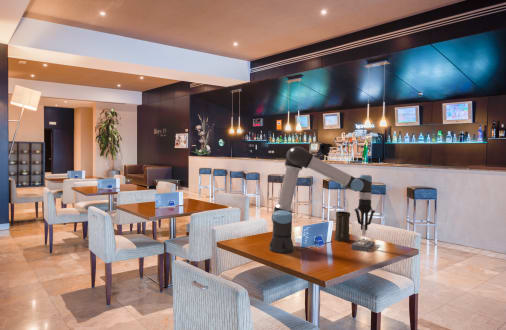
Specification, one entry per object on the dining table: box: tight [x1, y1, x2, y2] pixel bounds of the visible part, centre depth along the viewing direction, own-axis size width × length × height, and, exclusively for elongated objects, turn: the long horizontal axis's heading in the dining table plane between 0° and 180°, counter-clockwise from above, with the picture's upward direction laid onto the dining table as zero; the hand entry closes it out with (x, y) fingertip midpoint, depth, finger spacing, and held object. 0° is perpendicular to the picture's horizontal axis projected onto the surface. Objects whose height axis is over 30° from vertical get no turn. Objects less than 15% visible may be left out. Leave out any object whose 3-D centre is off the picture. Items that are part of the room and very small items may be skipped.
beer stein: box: [333, 210, 351, 242], centre depth 247 cm, size 15×11×20 cm
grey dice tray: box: [350, 238, 376, 253], centre depth 229 cm, size 10×18×3 cm, turn 148°
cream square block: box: [359, 237, 368, 244], centre depth 229 cm, size 4×4×3 cm
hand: (363, 235), depth 228 cm, fingers closed
